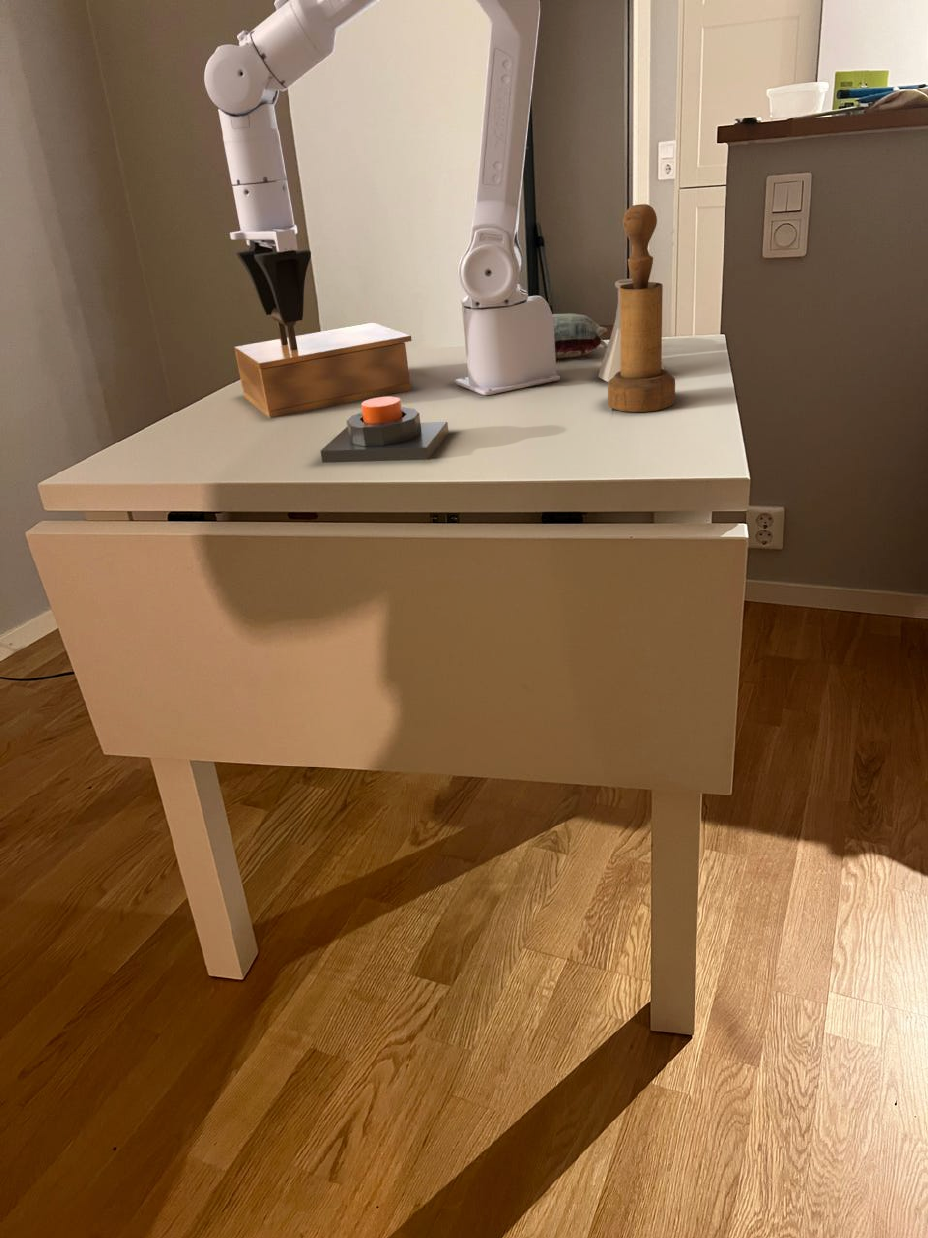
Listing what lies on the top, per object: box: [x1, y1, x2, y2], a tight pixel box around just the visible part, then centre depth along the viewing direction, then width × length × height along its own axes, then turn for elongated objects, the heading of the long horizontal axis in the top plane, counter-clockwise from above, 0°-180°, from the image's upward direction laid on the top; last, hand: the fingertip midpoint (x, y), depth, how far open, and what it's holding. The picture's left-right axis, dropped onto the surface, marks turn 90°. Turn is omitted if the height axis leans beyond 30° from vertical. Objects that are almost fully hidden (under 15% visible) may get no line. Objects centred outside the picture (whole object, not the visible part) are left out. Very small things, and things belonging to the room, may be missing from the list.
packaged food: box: [552, 313, 608, 360], centre depth 113 cm, size 9×12×5 cm
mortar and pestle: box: [607, 203, 676, 413], centre depth 87 cm, size 7×6×18 cm
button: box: [360, 396, 403, 423], centre depth 84 cm, size 4×4×2 cm
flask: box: [597, 278, 666, 383], centre depth 99 cm, size 7×7×10 cm
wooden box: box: [235, 342, 412, 419], centre depth 107 cm, size 17×13×5 cm
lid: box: [233, 307, 413, 369], centre depth 104 cm, size 17×13×5 cm
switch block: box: [319, 406, 450, 464], centre depth 85 cm, size 10×8×3 cm
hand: (283, 317), depth 102 cm, fingers open, 7 cm apart
